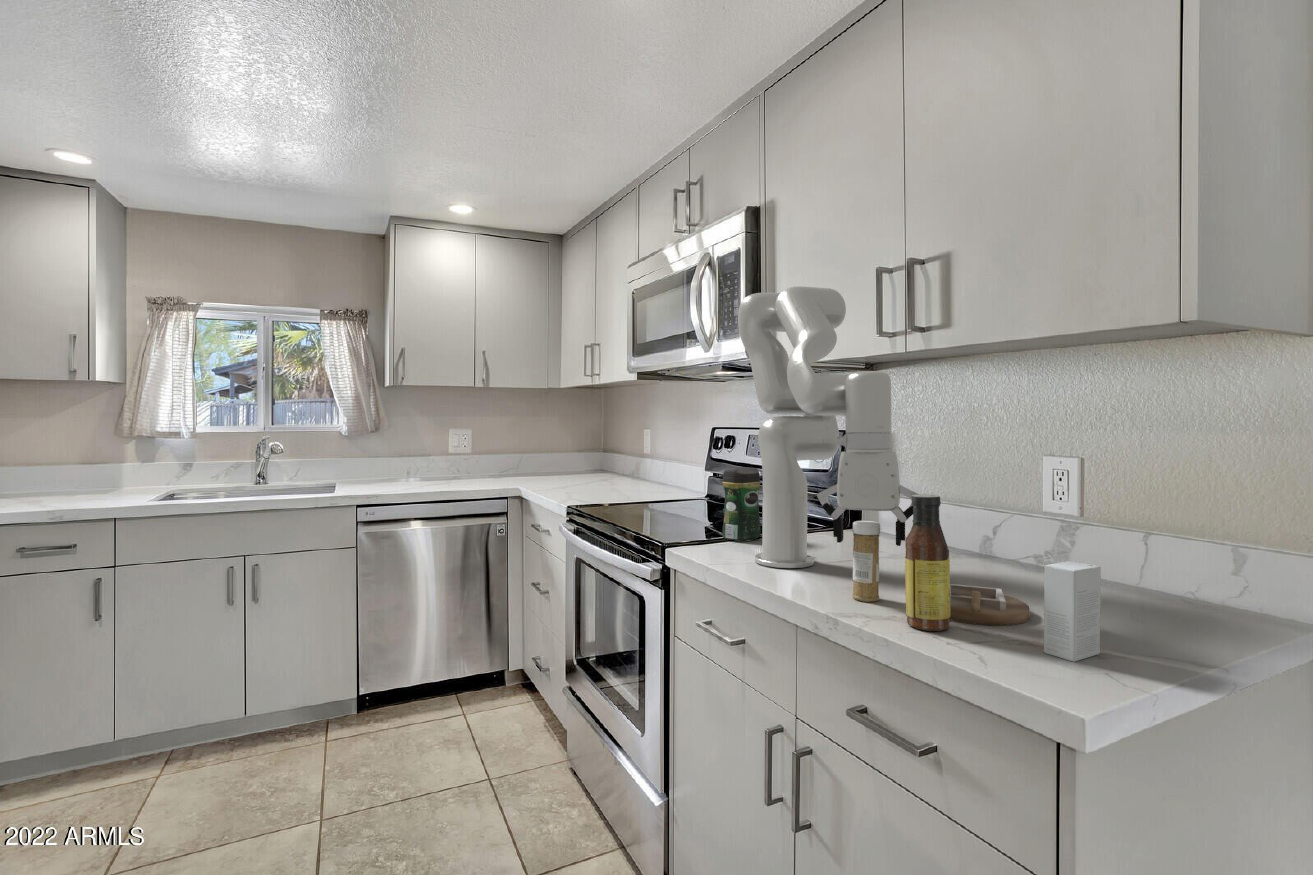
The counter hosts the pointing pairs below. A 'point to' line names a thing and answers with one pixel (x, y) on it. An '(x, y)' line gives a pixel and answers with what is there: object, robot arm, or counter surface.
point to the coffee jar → (741, 504)
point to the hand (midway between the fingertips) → (868, 543)
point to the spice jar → (866, 561)
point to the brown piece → (985, 606)
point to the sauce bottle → (927, 568)
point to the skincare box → (1072, 610)
